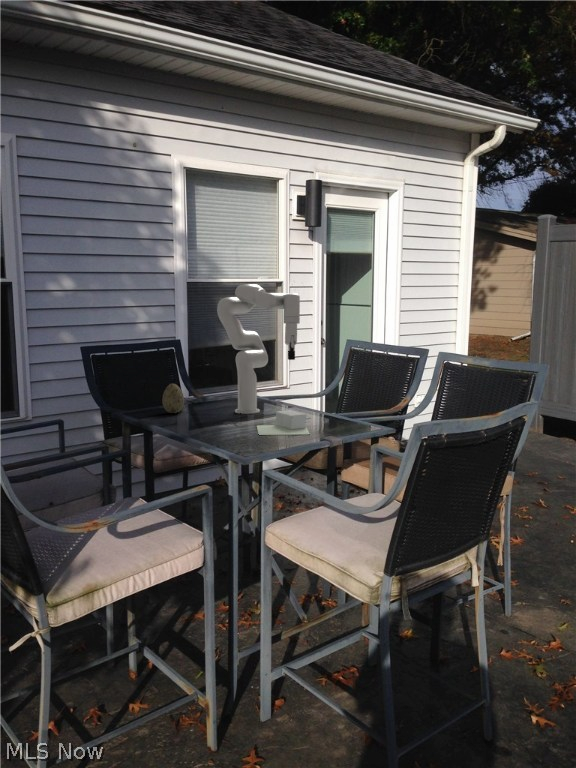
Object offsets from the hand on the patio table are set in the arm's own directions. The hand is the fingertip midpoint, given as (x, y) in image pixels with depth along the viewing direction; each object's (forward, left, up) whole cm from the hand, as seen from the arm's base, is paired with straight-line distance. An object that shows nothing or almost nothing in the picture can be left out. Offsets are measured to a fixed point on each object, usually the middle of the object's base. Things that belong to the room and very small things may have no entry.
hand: (291, 359), depth 318 cm
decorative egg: (-23, -57, -29) cm, 68 cm away
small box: (+10, -5, -26) cm, 28 cm away
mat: (+23, -6, -29) cm, 38 cm away
